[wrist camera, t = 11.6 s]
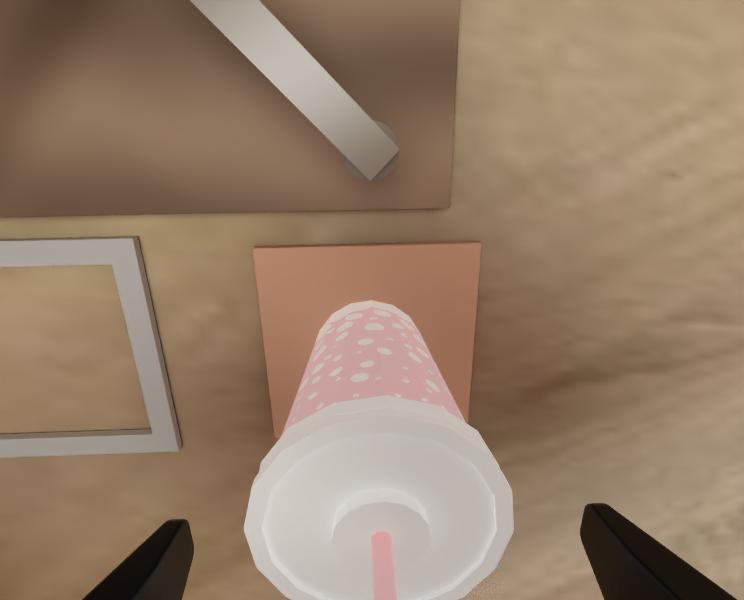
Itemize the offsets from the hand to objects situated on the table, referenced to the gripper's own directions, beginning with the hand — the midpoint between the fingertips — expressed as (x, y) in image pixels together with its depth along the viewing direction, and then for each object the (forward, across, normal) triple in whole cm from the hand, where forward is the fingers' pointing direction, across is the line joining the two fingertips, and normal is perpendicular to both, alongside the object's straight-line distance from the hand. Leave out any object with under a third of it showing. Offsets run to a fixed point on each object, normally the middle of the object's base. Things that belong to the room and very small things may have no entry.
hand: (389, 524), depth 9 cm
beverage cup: (+9, 0, 0) cm, 9 cm away
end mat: (+9, 0, 0) cm, 9 cm away
